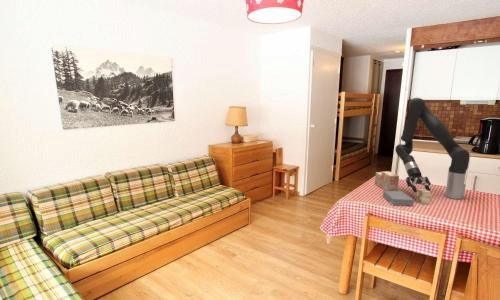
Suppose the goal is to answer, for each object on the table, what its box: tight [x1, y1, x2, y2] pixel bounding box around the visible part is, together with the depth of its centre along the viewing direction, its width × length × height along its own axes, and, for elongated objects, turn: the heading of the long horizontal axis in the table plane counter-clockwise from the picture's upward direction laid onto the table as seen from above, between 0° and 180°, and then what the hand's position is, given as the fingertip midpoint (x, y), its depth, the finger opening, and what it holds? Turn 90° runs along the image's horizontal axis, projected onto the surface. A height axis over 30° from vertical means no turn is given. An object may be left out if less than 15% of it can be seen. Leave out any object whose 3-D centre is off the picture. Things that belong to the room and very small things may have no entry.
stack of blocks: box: [374, 171, 400, 191], centre depth 202 cm, size 21×6×12 cm, turn 1°
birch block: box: [415, 188, 432, 205], centre depth 173 cm, size 5×5×8 cm
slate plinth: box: [382, 190, 415, 207], centre depth 176 cm, size 12×16×4 cm
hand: (422, 191), depth 174 cm, fingers open, 8 cm apart
